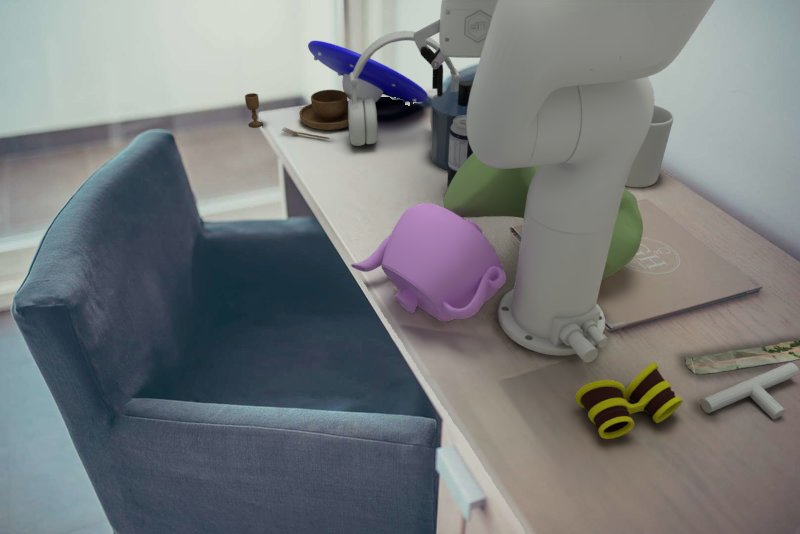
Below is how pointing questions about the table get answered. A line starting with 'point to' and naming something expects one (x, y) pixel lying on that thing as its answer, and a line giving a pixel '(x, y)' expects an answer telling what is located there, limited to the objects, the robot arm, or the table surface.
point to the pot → (440, 139)
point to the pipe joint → (753, 391)
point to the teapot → (438, 263)
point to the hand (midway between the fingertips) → (472, 93)
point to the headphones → (365, 110)
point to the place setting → (313, 111)
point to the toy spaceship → (366, 74)
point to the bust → (506, 196)
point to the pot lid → (453, 101)
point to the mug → (651, 150)
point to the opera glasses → (613, 409)
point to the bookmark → (744, 358)
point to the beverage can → (458, 146)
